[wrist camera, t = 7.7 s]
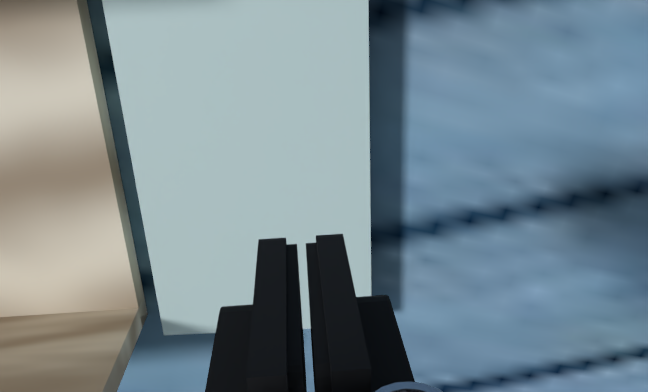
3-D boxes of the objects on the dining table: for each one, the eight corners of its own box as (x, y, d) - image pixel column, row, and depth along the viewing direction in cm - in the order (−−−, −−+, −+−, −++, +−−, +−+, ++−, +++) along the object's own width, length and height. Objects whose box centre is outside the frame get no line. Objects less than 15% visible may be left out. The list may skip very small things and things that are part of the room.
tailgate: (85, -88, 18) (367, -101, 18) (98, -86, 19) (364, -97, 19) (163, 335, 24) (371, 325, 24) (170, 319, 26) (369, 309, 26)
